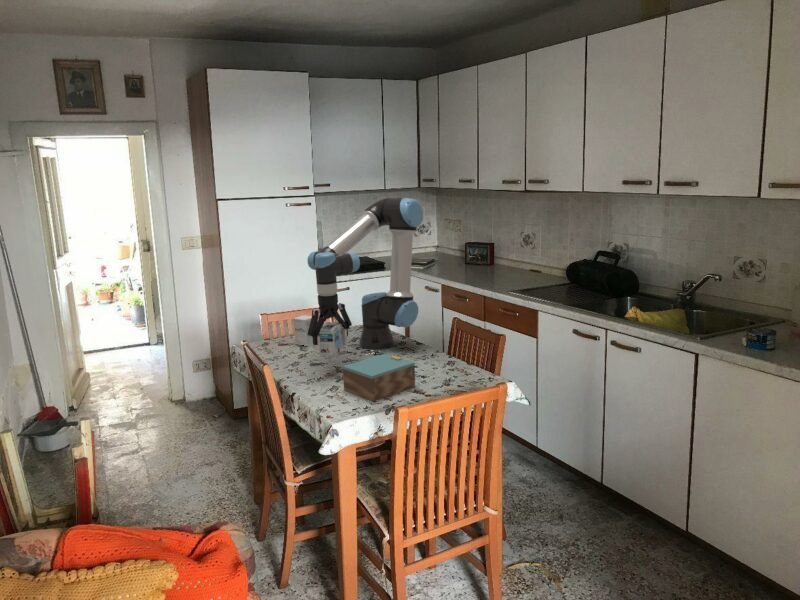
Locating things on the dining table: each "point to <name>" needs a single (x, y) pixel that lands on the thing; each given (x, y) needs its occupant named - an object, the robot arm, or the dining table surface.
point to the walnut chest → (379, 383)
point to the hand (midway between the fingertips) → (331, 348)
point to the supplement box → (302, 330)
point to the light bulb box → (331, 339)
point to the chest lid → (378, 366)
